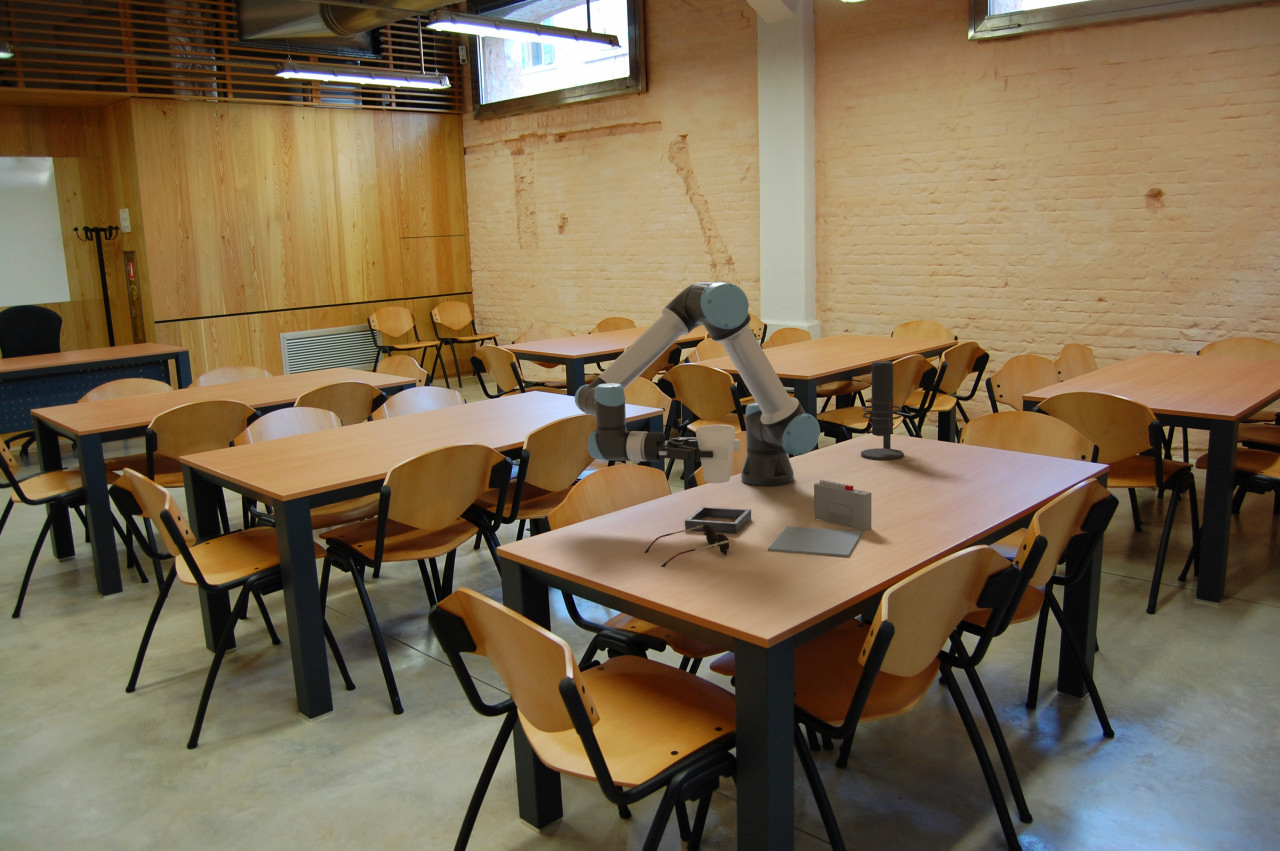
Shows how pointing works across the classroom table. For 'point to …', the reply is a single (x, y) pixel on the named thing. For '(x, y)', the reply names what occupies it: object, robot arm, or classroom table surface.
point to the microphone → (882, 411)
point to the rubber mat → (816, 541)
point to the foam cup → (716, 439)
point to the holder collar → (715, 512)
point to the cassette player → (842, 505)
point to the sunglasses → (710, 536)
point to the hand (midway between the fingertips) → (733, 449)
